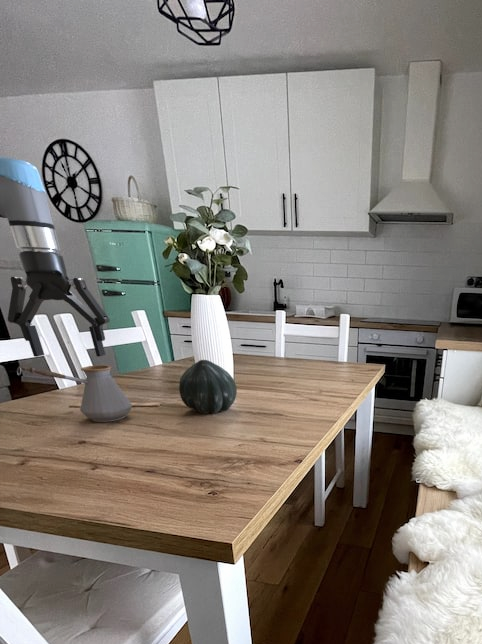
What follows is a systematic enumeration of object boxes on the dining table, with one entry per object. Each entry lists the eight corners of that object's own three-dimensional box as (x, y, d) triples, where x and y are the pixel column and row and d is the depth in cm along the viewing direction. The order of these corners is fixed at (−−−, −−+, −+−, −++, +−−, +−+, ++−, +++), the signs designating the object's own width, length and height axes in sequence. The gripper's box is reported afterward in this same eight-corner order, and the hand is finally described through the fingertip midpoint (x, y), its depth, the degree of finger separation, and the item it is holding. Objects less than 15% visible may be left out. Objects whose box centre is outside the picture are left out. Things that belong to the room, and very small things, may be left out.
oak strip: (69, 407, 111) (68, 405, 111) (74, 404, 114) (74, 403, 114) (158, 406, 114) (157, 405, 114) (161, 403, 117) (161, 402, 116)
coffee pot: (122, 409, 110) (109, 353, 104) (142, 417, 104) (128, 358, 97) (30, 426, 95) (7, 363, 89) (46, 437, 89) (23, 369, 82)
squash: (215, 381, 120) (183, 346, 107) (253, 389, 115) (225, 353, 101) (192, 420, 116) (155, 388, 103) (230, 430, 110) (197, 398, 97)
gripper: (110, 254, 88) (132, 353, 97) (-12, 251, 85) (23, 353, 95) (94, 252, 81) (119, 358, 91) (-39, 248, 79) (1, 358, 88)
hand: (70, 355), depth 93 cm, fingers open, 13 cm apart
